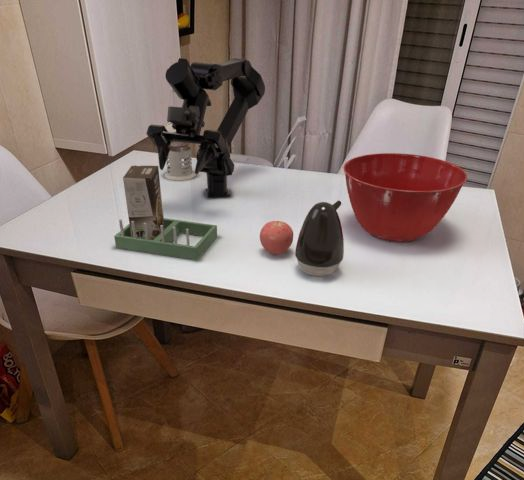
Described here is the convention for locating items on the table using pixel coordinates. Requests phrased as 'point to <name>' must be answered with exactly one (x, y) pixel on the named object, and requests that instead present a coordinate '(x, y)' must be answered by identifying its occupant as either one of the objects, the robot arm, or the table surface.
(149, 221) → the coffee box
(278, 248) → the apple
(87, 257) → the table surface
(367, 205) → the mixing bowl
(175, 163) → the french press
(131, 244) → the dish rack
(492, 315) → the table surface
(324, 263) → the pump dispenser
